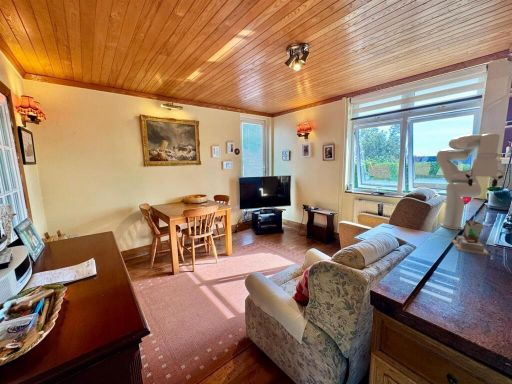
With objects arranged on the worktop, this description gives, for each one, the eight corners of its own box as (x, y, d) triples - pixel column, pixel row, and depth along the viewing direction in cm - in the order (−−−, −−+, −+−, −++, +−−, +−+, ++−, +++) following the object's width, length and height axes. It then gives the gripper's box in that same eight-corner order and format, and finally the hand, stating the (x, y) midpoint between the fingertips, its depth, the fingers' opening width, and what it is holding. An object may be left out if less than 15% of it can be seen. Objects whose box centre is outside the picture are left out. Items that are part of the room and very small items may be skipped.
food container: (483, 245, 114) (487, 227, 112) (467, 243, 117) (470, 225, 116) (478, 238, 124) (481, 221, 122) (463, 236, 127) (465, 219, 126)
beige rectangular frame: (451, 240, 131) (452, 234, 131) (479, 244, 125) (480, 238, 124) (457, 250, 118) (458, 242, 118) (488, 255, 112) (490, 247, 111)
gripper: (506, 156, 123) (500, 186, 126) (464, 156, 132) (460, 184, 135) (511, 156, 117) (505, 188, 120) (467, 156, 126) (463, 186, 129)
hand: (481, 186), depth 128 cm, fingers open, 9 cm apart
